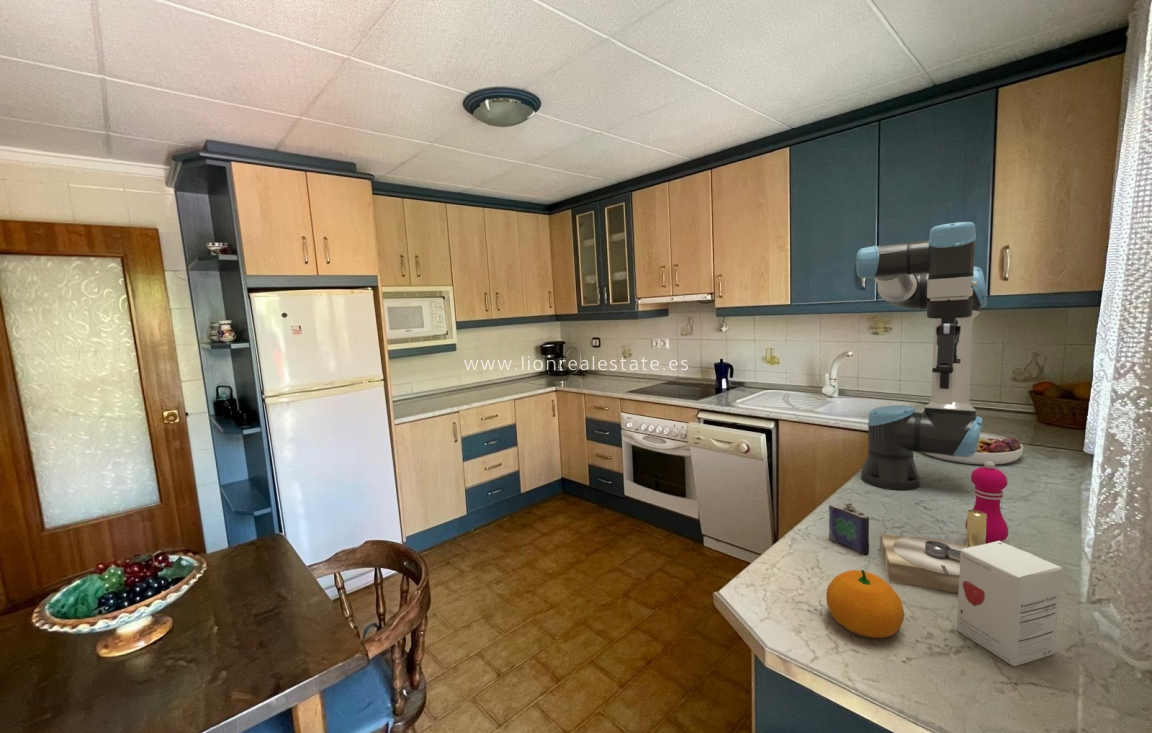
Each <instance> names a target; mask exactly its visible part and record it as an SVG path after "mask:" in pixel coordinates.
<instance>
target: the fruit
mask: <svg viewBox="0 0 1152 733" xmlns="http://www.w3.org/2000/svg"><path fill="white" fill-rule="evenodd" d="M826 606H827V608H828V610H829V612H830V613H831V616H832V617H833V618H834V620H835V621H836V622H837V623H838V624H840V625H841V626H842V627H843V628H845V629H847V631H850V632H852V633H853V634H857V635H860V636H862V637H867V638H873V639H874V638H875V639H881V638H882V639H883V638H888V637H891V636H893V635H894V634H896V633H897V632H899V630H900V629H901V626H902V624H903V623H904V621H905V620H904V619H905V610H904V607H903V603H902V599H901V598H900V596H899V595H898V593H897V592H896V591H895V589H894V588H893V587H892V586H891V585H890V584H889V583H888V582H887V581H886V580H884V579H883V578H881V576H878V575H877V574H874V573H872V572H867V571H865V570H864V569H861V570H855V569H853V570H846V571H844V572H841V573H839V574H838V575H836V576H835V577H833V579H831V581H830V583H829V584H828V585H827V588H826Z"/></svg>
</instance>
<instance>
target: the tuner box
mask: <svg viewBox="0 0 1152 733" xmlns="http://www.w3.org/2000/svg"><path fill="white" fill-rule="evenodd" d="M927 541H937V542H941V543H944V544H946V545H948V546H949V547H950V548H952V549H955V550H959V551H961V549H964V548H966V544H961V543H954V542H951V541H946V540H943V539H938V538H934V537H925V536H901V535H893V534H886V533H880V545H879V546H880V553H881V558H882V562H883V564H884V565H883V566H884V568H885V571H886V574H887V578H888V582H889V583H891V582H892V583H897V584H902V585H909V586H915V587H920V588H927V589H932V590H937V591H942V592H949V593H955V594H959V574H960V559H959V558H955V557H952V556H950V557H949V558H947V559H940V558H935V557H932V556H930V555H928V554H927V553H926V552H925V543H926V542H927Z"/></svg>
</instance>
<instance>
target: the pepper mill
mask: <svg viewBox="0 0 1152 733" xmlns="http://www.w3.org/2000/svg"><path fill="white" fill-rule="evenodd" d="M995 467H996V465H995V464H994V463H993V462H991V461H987V462H985V463H984V465H983V466H981V467H978V468H975V469H974V470H973V471H972V473H971V474H970V481H971V483H972V484H973V485H974V486H973V491H972V493H973V495H975V502H974V506H973V507H972V510H978V511H982V512H984V513H986V514H987V520H986V541H985V544H988V543H992V542H996V541H1001V542H1003V543H1005V542H1004V541H1005V540H1006V539H1007V538H1008V537H1009V527H1008V525H1007V523H1006V521H1005V519H1004V516H1003V514H1002V511H1001V500H1002V499H1004V493H1005V492H1004V491H1003V490H1004V489H1006V487H1007V486H1008V478H1007V476H1006V474H1005V473H1004V472H1002V471H1001V470H999V469H997V468H995ZM964 527H965V529H966V530H967V519H966V520H965V526H964Z"/></svg>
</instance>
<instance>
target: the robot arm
mask: <svg viewBox="0 0 1152 733" xmlns="http://www.w3.org/2000/svg"><path fill="white" fill-rule="evenodd" d="M928 239H929V240H928ZM928 239H927V240H917V241H912V242H902V243H891V244H882V245H872V246H867V247H862V248H860V249H859V250H858V251H857V253H856V260H855V261H856V262H855V263H856V264H855V266H856V274H857V275H856V276H858V278H859V279H874V281H875V283H877V293H878V295H879V296H880V298H881V299H882V300H883V301H885V302H887V303H888V304H890V305H893V306H895V307H899V308H903V309H906V310H907V309H908V310H926V317H927V318H928V319H932V320H933V322H934V323H933V344H932V345H933V346H932V347H933V348H932V364H931V366H932V367H931V368H932V370H931V390H930V391H931V393H930V394H931V396H930V401H929V403H928V404H926V405H924V407H923V408H924V409H923V410H924V411H923V412H916V409H915V407H914V406H911V405H903V404H902V405H900V404H899V405H883V406H879V407H875V408H873V409H871V410H870V412H869V414H868V422H867V426H868V427H867V429H868V430H867V431H868V434H867V435H868V436H867V437H868V439H867V456H866V457H865V459H864V460H865V461H864V463H863V465H862V467H861V470H860V478H861V480H862V481H863V482H864V483H867V484H869V485H871V486H874V487H878V488H882V489H886V490H896V491H907V490H913V489H914V490H916V489H918V488H919V487H920V485H921V476H920V474H919V471H918V469H917V466H916V463H915V460H914V453H915V452H916V453H917V452H918V453H923V452H924V453H923V454H925V453H932V454H941V455H949V456H952V457H954V456H959V457H971V456H973V455H974V454H975V452H976V449H977V446H978V442H979V437H980V432H981V431H982V424H983V420H984V419H983V418H982V416H979V415H977V409H976V408H974V407H973V406H972V405H971V404H970V395H971V394H970V393H971V392H970V389H971V364H972V363H971V362H972V361H971V359H972V342H973V340H972V337H973V335H972V334H973V319H974V318H976V317H978V315H979V314H980V312H981V311H980V309H981V308H985V307H987V303H988V300H987V299H988V298H987V288H986V283H985V277H984V272H983V270H982V269H981V268H980V267H979V266H975V256H976V254H975V253H976V252H975V251H976V240H977V234H976V225H975V223H974V222H972V221H961V222H951V223H945V224H944V223H943V224H940V225H935V226H933V227H932V228H931V229H930V232H929V238H928Z"/></svg>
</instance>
